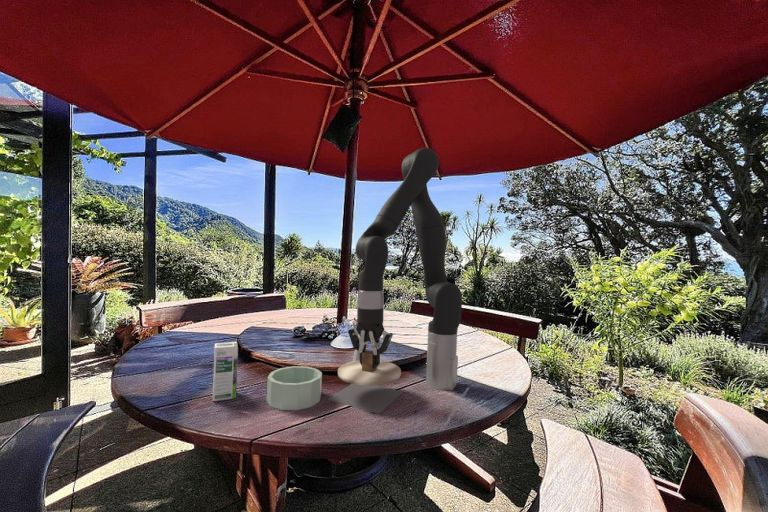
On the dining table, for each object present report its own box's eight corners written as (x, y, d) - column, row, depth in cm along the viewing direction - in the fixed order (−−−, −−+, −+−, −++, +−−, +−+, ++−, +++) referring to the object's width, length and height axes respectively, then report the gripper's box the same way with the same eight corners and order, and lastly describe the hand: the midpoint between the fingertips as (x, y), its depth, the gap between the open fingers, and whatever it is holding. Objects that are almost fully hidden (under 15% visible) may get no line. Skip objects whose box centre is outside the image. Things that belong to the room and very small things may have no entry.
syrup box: (212, 402, 88) (214, 347, 88) (212, 393, 93) (214, 342, 93) (236, 398, 90) (238, 345, 90) (234, 390, 95) (236, 340, 96)
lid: (410, 368, 99) (410, 348, 99) (384, 390, 83) (384, 366, 83) (357, 359, 107) (358, 341, 107) (324, 378, 90) (325, 356, 90)
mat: (402, 393, 98) (402, 391, 98) (378, 415, 84) (378, 413, 84) (356, 382, 105) (356, 380, 105) (326, 401, 91) (327, 399, 91)
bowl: (330, 396, 94) (331, 372, 94) (297, 417, 82) (298, 388, 82) (292, 386, 100) (293, 363, 100) (255, 404, 88) (256, 377, 88)
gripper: (398, 306, 95) (397, 366, 95) (355, 302, 101) (354, 358, 101) (387, 309, 88) (386, 374, 88) (342, 305, 94) (341, 366, 94)
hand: (369, 365), depth 95 cm, fingers closed on lid, 3 cm apart
